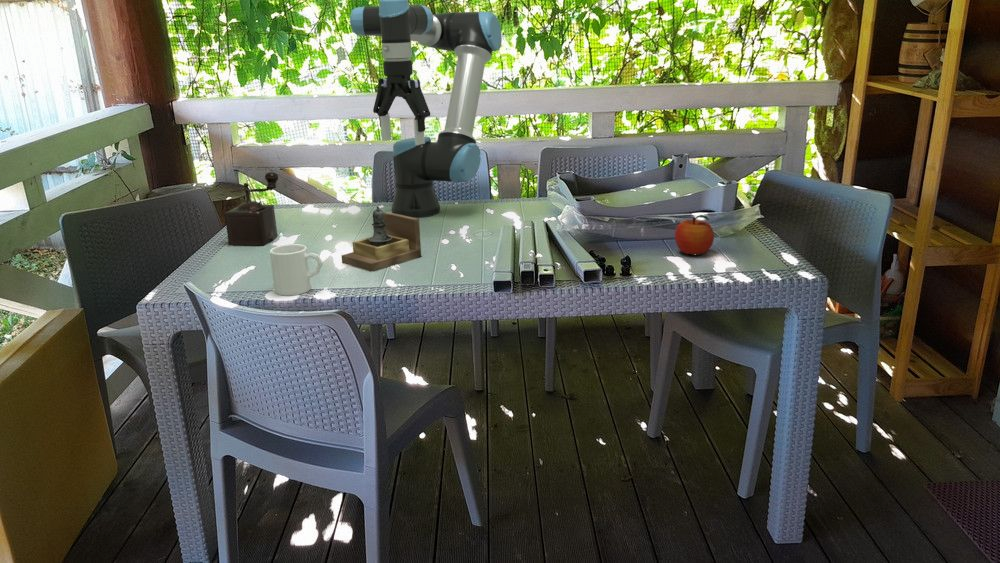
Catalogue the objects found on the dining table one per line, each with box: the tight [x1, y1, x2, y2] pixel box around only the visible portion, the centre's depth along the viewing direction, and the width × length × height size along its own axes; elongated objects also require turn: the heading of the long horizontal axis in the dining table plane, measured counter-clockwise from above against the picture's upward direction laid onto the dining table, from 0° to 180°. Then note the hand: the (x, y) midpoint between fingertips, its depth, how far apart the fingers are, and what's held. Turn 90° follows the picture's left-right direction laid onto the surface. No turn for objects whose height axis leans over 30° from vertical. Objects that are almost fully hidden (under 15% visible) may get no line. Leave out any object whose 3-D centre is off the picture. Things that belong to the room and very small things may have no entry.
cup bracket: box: [340, 211, 422, 272], centre depth 205 cm, size 16×12×10 cm
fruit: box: [674, 214, 715, 256], centre depth 202 cm, size 10×10×10 cm
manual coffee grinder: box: [224, 171, 279, 247], centre depth 227 cm, size 16×11×18 cm
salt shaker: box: [368, 205, 392, 247], centre depth 204 cm, size 6×6×12 cm
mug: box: [269, 243, 324, 297], centre depth 183 cm, size 8×12×10 cm
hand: (403, 142), depth 217 cm, fingers open, 13 cm apart
